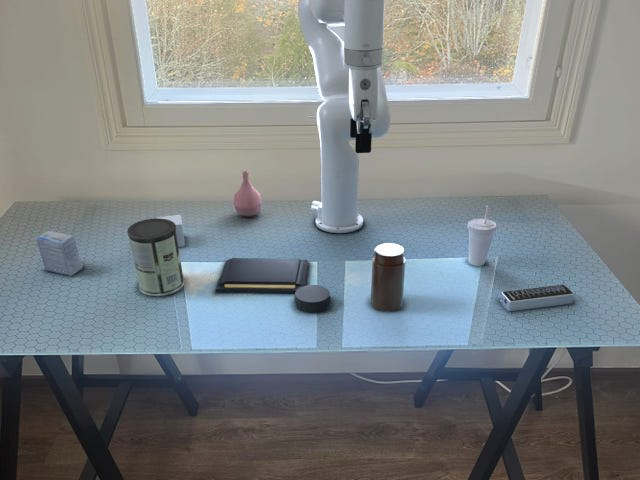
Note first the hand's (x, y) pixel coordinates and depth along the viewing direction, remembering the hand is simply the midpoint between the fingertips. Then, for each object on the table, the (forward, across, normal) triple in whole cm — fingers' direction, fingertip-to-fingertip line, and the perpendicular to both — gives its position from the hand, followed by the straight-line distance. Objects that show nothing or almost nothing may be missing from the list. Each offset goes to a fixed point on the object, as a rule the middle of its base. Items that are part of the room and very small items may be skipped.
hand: (360, 144), depth 136 cm
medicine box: (+28, +3, +70) cm, 75 cm away
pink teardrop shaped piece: (+29, +31, +26) cm, 49 cm away
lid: (+26, -18, +12) cm, 33 cm away
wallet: (+28, -5, +22) cm, 36 cm away
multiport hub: (+28, -22, -36) cm, 50 cm away
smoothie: (+28, -2, -28) cm, 40 cm away
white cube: (+28, +15, +45) cm, 56 cm away
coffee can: (+28, -7, +45) cm, 54 cm away
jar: (+28, -19, -4) cm, 34 cm away
